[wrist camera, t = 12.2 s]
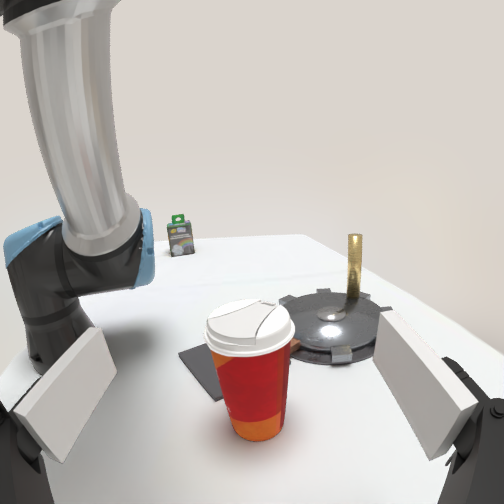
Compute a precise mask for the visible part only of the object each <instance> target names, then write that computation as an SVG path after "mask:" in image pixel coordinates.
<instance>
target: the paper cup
mask: <svg viewBox="0 0 504 504" xmlns="http://www.w3.org/2000/svg"><path fill="white" fill-rule="evenodd" d="M275 305H276V304H275V303H271V302H267V301H264V302H261V300H260V299H248V300H239V301H234V302H231V303H227V304H225V305H222V306H220V307H218V308H217V309H215V310H214V311H212V312H211V314H210V315H209V317H208V318H207V325H206V327H205V330H204V333H203V336H204V340H205V342H206V344H207V345H208V347H209V348H210V350H211V354H212V358H213V361H214V365H215V369H216V372H217V376H218V380H219V383H220V387H221V390H222V394H223V397H224V400H225V404H226V407H227V410H228V413H229V417H230V420H231V422H232V425H233V428H234V430H235V431H236V433H237V434H238V435H239V436H240V437H242V438H244V439H246V440H249V441H265V440H268V439H271V438H273V437H274V436H276V435H277V434H278V433H279V432H280V431H281V429H282V427H283V423H284V417H285V408H286V398H287V387H288V374H289V360H290V345H291V339H292V338H293V336H294V333H295V326H294V323H293V321H292V320H291V319H290V316H289V313H288V311H287V310H286V308H284V307H283V306H282V305H279V306H275Z"/></svg>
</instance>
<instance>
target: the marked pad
mask: <svg viewBox="0 0 504 504" xmlns="http://www.w3.org/2000/svg"><path fill="white" fill-rule="evenodd" d="M178 354H179V357H180V358H181V360H182V361H183V362H184V363H185V365H186V366H187V367H188V369H189V370H190V371H191V372H192V374H193V375H194V376H195V378H196V379H197V380H198V381H199V382H200V384H201V385H202V386H203V387H204V389H205V390H206V391H207V392H208V393H209V395H210V396H211V397H212V398H213V399H214V400H215V402H216V401H218V400H220V399H222V398H224V397H223V394H222V390H221V387H220V383H219V380H218V376H217V372H216V369H215V365H214V361H213V358H212V354H211V350H210V348H209V347H208V345H207V344H206V343H205V344H203V345H200V346H197V347H194V348H191V349H189V350H186V351H183V352H180V353H178ZM290 364H291V361H290V360H289V365H290Z"/></svg>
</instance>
